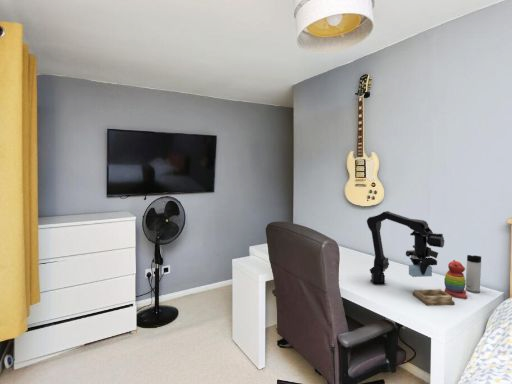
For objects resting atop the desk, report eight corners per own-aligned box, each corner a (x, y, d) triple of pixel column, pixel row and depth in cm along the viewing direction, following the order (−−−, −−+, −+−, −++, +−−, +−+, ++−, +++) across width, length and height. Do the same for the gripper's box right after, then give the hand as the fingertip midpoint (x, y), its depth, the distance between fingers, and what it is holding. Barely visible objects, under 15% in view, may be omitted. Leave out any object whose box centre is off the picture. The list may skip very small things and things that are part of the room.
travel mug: (467, 292, 158) (469, 256, 156) (464, 287, 164) (465, 252, 162) (481, 294, 155) (483, 257, 154) (477, 289, 161) (479, 253, 160)
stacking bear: (467, 300, 149) (469, 266, 147) (444, 295, 154) (445, 262, 153) (465, 292, 158) (467, 260, 157) (443, 288, 163) (444, 257, 162)
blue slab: (412, 276, 153) (412, 265, 153) (408, 274, 157) (408, 262, 157) (431, 276, 153) (431, 264, 153) (427, 273, 157) (427, 262, 157)
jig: (426, 305, 144) (426, 298, 143) (412, 295, 156) (413, 288, 155) (454, 304, 144) (454, 297, 144) (438, 294, 156) (438, 287, 156)
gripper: (447, 248, 145) (447, 278, 146) (424, 239, 164) (424, 267, 165) (425, 249, 145) (425, 280, 146) (405, 240, 163) (405, 268, 164)
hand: (420, 273), depth 155 cm, fingers closed on blue slab, 4 cm apart
